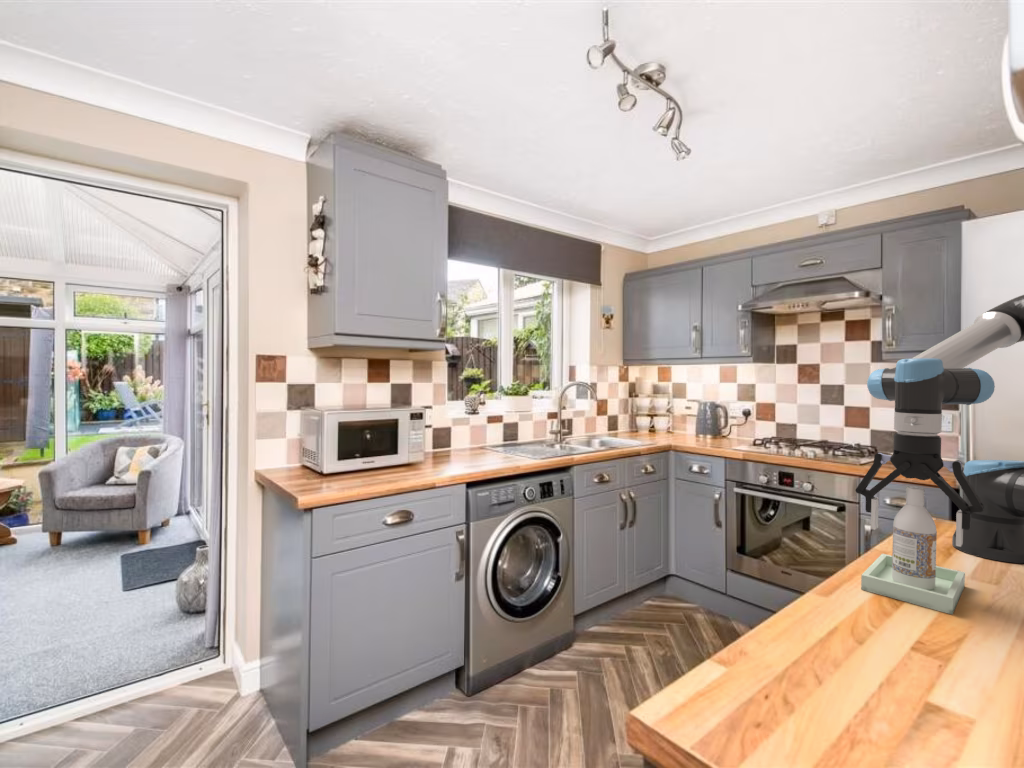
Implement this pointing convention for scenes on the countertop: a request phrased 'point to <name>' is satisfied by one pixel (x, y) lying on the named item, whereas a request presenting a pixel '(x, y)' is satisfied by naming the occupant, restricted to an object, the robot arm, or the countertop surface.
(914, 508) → the bath foam
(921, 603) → the tray
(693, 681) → the countertop surface
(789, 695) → the countertop surface
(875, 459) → the robot arm
